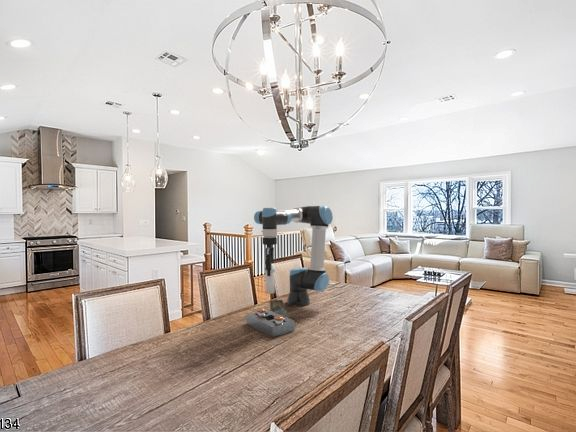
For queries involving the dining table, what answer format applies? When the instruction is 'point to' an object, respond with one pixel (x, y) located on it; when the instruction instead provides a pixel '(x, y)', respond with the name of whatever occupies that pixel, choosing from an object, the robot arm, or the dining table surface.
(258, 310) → the plunger
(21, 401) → the dining table surface
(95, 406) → the dining table surface
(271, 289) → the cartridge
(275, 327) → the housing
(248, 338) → the dining table surface
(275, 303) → the beverage carton
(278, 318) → the plunger
